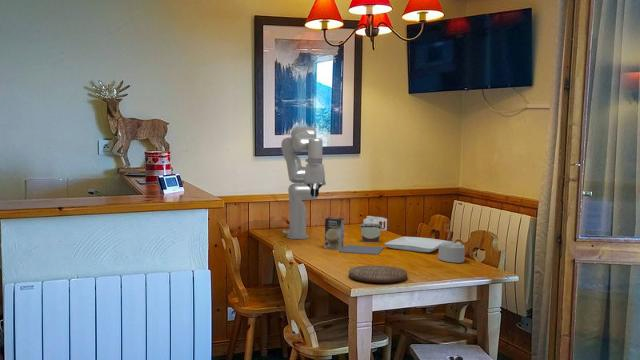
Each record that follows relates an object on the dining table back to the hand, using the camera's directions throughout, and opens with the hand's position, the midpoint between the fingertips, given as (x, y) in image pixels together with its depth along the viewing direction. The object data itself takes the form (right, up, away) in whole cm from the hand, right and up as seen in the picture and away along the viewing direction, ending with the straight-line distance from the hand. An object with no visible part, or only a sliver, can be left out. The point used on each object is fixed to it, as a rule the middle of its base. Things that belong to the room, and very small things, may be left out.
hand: (314, 196), depth 327 cm
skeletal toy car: (+38, -23, +70) cm, 83 cm away
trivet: (+28, -33, -62) cm, 75 cm away
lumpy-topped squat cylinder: (+67, -31, -26) cm, 78 cm away
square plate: (+55, -28, +5) cm, 62 cm away
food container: (+31, -26, +22) cm, 46 cm away
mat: (+25, -28, -4) cm, 38 cm away
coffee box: (+10, -28, -1) cm, 29 cm away
